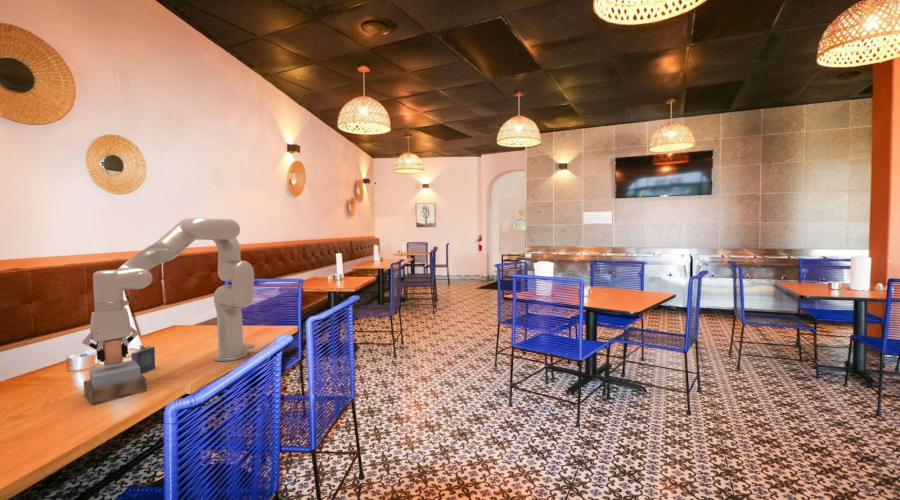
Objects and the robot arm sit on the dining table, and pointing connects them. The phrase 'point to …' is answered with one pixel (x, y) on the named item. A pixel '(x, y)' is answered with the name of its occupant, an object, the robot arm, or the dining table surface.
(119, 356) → the brown rectangular block
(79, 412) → the dining table surface
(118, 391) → the bottom block
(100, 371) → the top block
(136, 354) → the dark panel with clover
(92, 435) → the dining table surface
